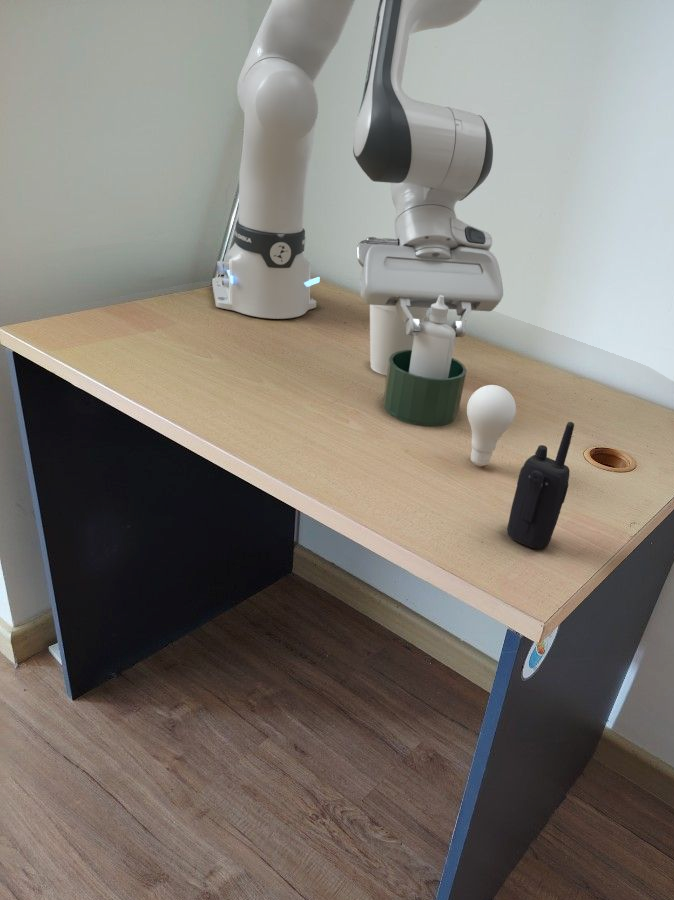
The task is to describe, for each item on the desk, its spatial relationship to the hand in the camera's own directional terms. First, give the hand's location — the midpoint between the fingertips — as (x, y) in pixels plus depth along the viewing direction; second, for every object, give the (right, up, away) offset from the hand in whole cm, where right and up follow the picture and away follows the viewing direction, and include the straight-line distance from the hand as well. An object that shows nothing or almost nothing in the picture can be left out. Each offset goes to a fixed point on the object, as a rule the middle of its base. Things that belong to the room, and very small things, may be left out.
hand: (436, 334), depth 105 cm
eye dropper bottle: (-1, -5, +4) cm, 7 cm away
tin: (-2, -9, +7) cm, 11 cm away
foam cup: (-7, -1, +18) cm, 19 cm away
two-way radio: (+9, -29, -19) cm, 36 cm away
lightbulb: (+5, -19, -5) cm, 20 cm away
